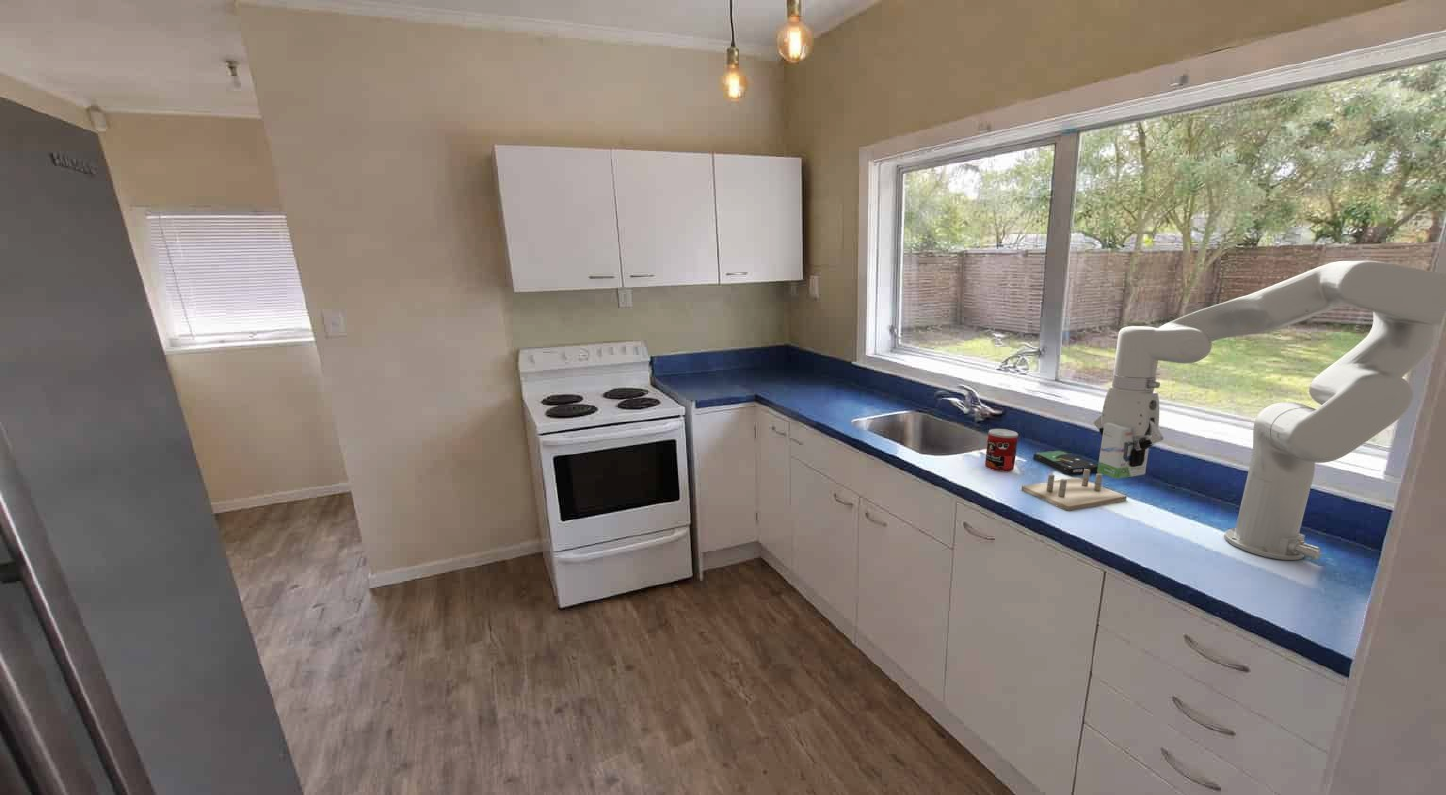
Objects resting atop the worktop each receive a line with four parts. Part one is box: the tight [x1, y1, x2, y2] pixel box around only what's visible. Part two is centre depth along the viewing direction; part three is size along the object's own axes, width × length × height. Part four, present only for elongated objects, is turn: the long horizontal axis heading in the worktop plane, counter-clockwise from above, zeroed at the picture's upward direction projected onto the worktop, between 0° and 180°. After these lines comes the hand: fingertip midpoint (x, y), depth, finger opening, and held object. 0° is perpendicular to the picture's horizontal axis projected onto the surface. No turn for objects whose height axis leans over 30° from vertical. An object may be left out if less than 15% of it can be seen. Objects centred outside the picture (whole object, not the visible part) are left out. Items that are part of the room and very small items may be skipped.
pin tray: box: [1021, 469, 1128, 512], centre depth 147 cm, size 14×20×6 cm
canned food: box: [984, 428, 1019, 472], centre depth 167 cm, size 8×8×11 cm
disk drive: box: [1032, 450, 1099, 476], centre depth 170 cm, size 10×3×15 cm
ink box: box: [1097, 423, 1151, 480], centre depth 126 cm, size 9×5×12 cm, turn 105°
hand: (1122, 461), depth 127 cm, fingers closed on ink box, 5 cm apart
